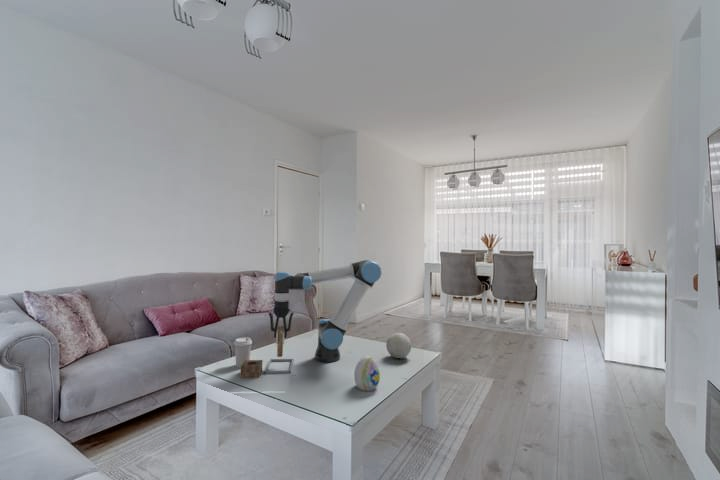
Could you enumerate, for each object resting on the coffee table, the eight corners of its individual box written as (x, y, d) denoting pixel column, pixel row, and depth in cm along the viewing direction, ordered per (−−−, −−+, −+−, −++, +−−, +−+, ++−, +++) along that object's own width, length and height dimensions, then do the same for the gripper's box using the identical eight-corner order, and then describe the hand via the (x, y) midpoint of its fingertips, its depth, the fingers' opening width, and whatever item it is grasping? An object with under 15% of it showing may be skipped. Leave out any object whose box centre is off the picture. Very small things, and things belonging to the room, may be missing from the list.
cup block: (262, 372, 180) (262, 359, 181) (259, 379, 172) (259, 366, 172) (244, 372, 179) (244, 360, 180) (240, 379, 171) (240, 366, 171)
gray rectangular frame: (293, 362, 197) (293, 358, 197) (290, 374, 178) (290, 370, 178) (270, 362, 196) (270, 358, 196) (264, 375, 177) (264, 371, 177)
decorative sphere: (385, 361, 203) (386, 335, 203) (386, 353, 218) (387, 329, 218) (411, 362, 201) (411, 337, 201) (410, 354, 216) (411, 330, 216)
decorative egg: (368, 395, 156) (369, 362, 156) (348, 387, 164) (349, 356, 164) (384, 387, 166) (385, 356, 166) (365, 380, 174) (365, 350, 174)
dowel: (282, 355, 188) (283, 325, 189) (282, 356, 186) (283, 327, 186) (277, 355, 188) (278, 325, 188) (276, 356, 185) (277, 327, 186)
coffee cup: (245, 371, 182) (246, 342, 182) (229, 369, 184) (230, 341, 184) (254, 365, 191) (255, 337, 191) (239, 363, 193) (240, 336, 193)
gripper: (296, 299, 192) (295, 341, 192) (267, 299, 190) (266, 341, 190) (295, 301, 184) (294, 345, 184) (265, 301, 183) (264, 345, 182)
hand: (280, 343), depth 187 cm, fingers closed on dowel, 3 cm apart
